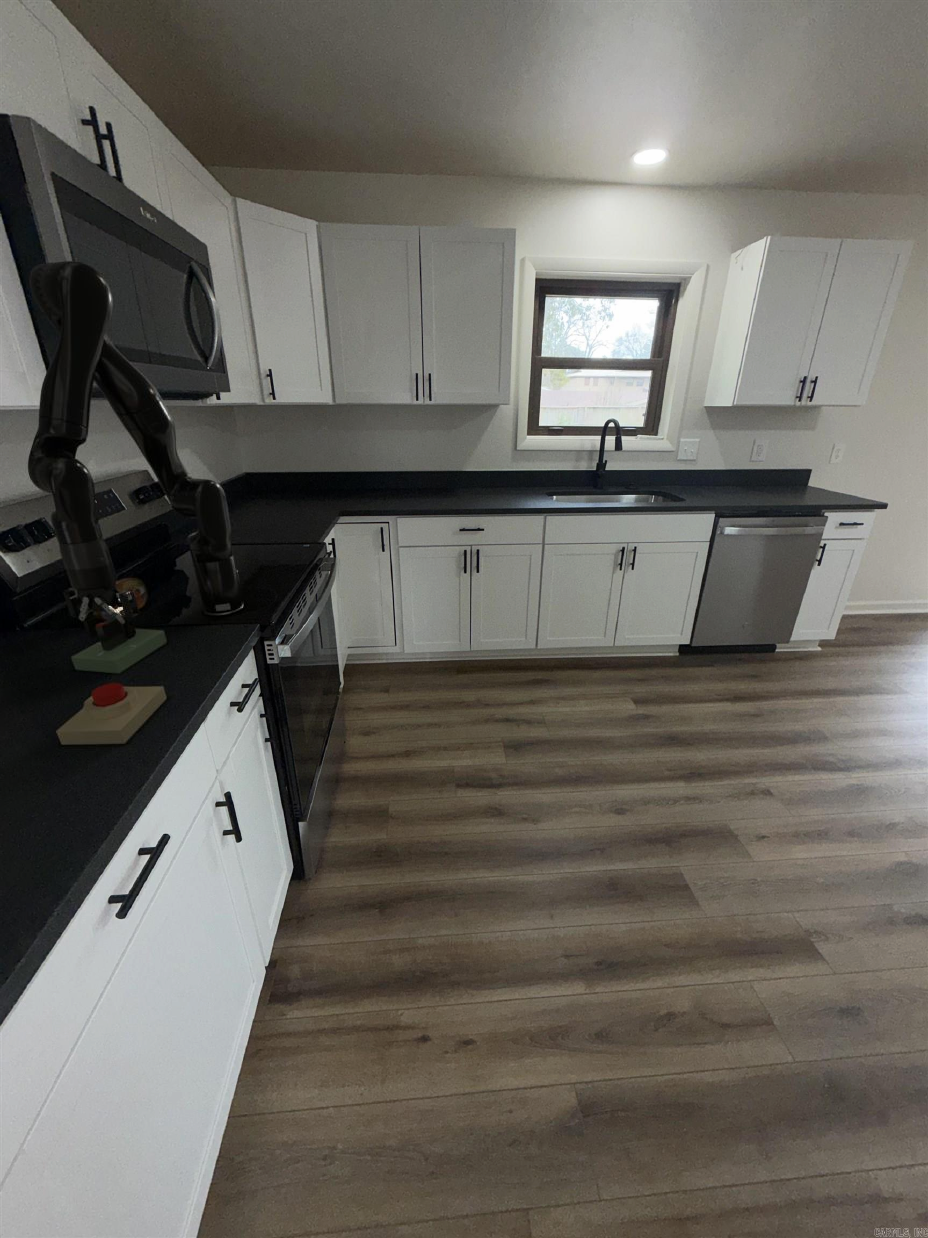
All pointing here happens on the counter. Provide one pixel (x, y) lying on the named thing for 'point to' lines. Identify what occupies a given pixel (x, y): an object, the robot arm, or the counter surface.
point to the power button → (108, 694)
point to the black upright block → (110, 634)
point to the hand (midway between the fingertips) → (112, 636)
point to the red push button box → (112, 718)
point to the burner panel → (119, 653)
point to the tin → (124, 585)
